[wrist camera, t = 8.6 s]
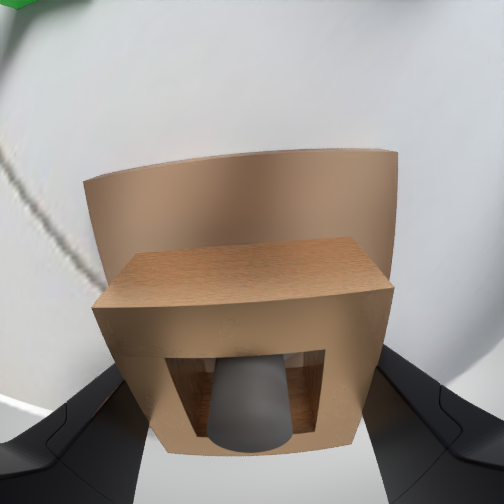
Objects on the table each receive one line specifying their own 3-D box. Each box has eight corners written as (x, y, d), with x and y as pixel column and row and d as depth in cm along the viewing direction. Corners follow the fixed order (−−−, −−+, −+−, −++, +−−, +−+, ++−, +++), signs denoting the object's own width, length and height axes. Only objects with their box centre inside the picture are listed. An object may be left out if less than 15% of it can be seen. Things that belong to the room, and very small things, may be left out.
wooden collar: (351, 236, 8) (394, 287, 5) (335, 384, 11) (351, 443, 8) (135, 253, 8) (91, 307, 6) (180, 393, 11) (167, 452, 8)
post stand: (380, 149, 10) (519, 185, 3) (359, 364, 14) (399, 473, 8) (101, 174, 10) (-32, 234, 4) (160, 377, 14) (129, 486, 8)
